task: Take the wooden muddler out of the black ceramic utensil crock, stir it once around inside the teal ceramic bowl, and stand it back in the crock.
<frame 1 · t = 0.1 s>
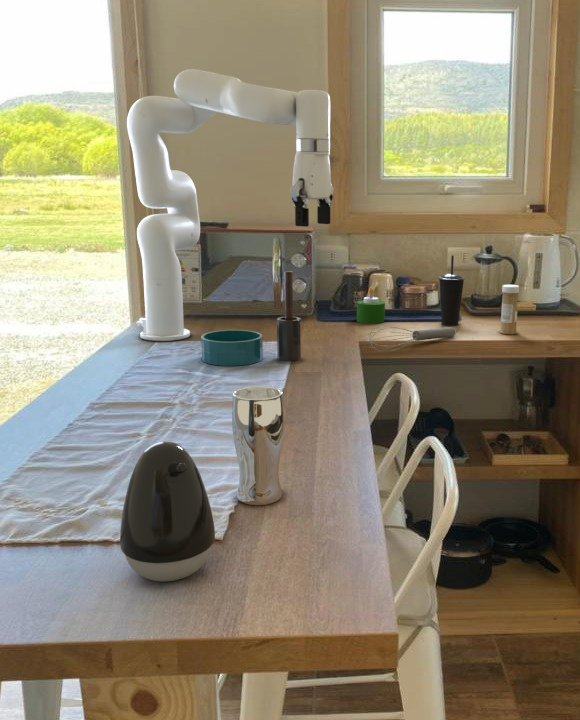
hand: (313, 225, 185), 31 cm above the breakfast bar, tool pointing down, fingers open, 9 cm apart
drinking cup: (449, 324, 236), on the breakfast bar
candle: (370, 321, 238), on the breakfast bar
wooden muddler: (289, 358, 188), resting on crock
sprinkles bottle: (508, 333, 225), on the breakfast bar
beer glass: (259, 498, 111), on the breakfast bar
bowl: (232, 361, 187), on the breakfast bar
crock: (289, 360, 188), on the breakfast bar
pump dispenser: (170, 572, 91), on the breakfast bar
kitchen whisk: (413, 345, 208), on the breakfast bar
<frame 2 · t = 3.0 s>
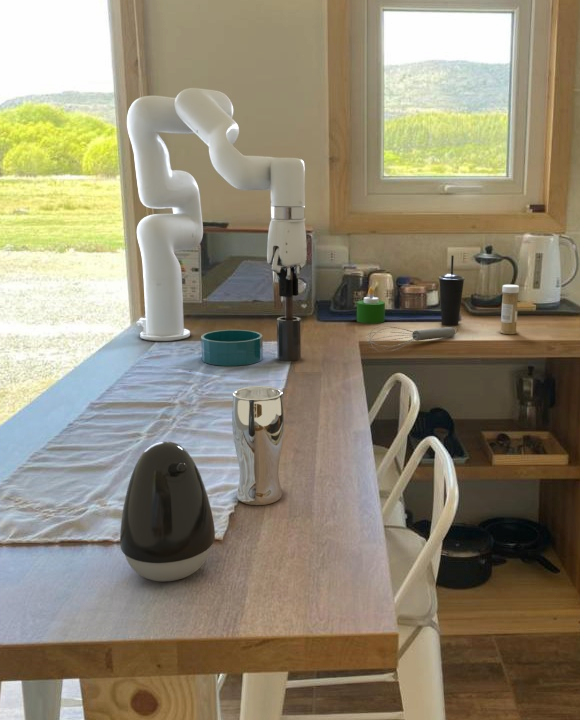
hand: (288, 295, 185), 15 cm above the breakfast bar, tool pointing down, fingers closed on wooden muddler, 1 cm apart
wooden muddler: (289, 358, 188), resting on crock, touching gripper
everything else where it was.
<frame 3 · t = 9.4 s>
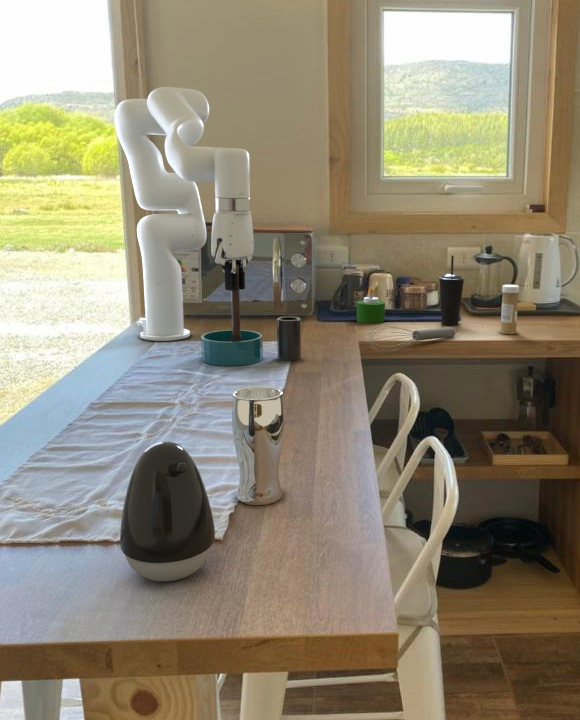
hand: (235, 288, 181), 17 cm above the breakfast bar, tool pointing down, fingers closed on wooden muddler, 1 cm apart
wooden muddler: (236, 353, 184), point 2 cm above the breakfast bar, touching gripper
everything else where it was.
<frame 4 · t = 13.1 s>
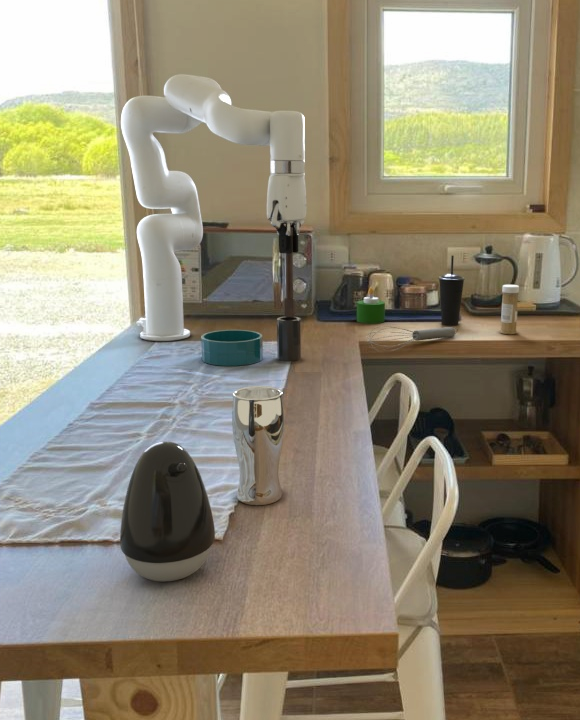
hand: (288, 252, 182), 25 cm above the breakfast bar, tool pointing down, fingers closed on wooden muddler
wooden muddler: (289, 317, 186), point 10 cm above the breakfast bar, touching gripper
everything else where it was.
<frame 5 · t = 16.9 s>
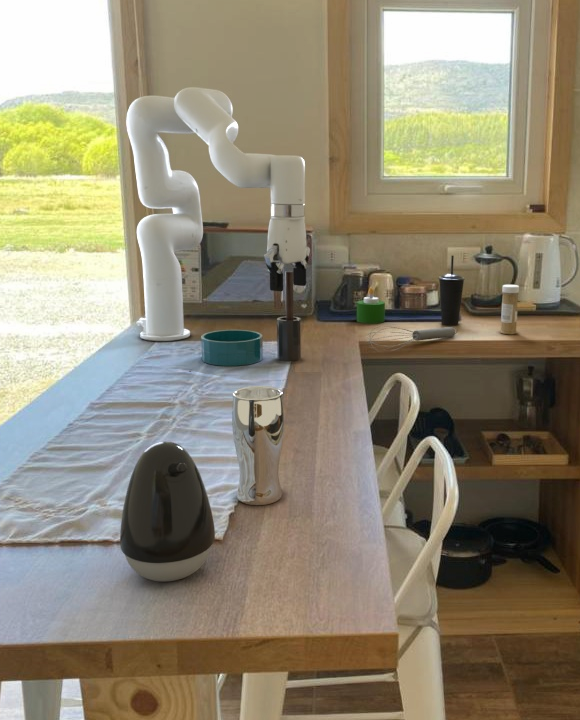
hand: (288, 288, 184), 17 cm above the breakfast bar, tool pointing down, fingers open, 9 cm apart
wooden muddler: (289, 358, 188), resting on crock
everything else where it was.
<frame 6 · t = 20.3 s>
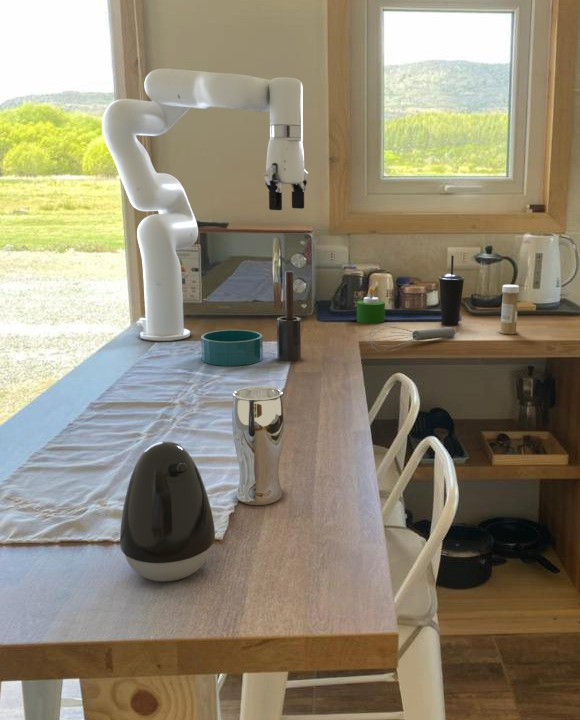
hand: (287, 209, 190), 34 cm above the breakfast bar, tool pointing down, fingers open, 9 cm apart
nothing on the breakfast bar moved.
at the end: wooden muddler 0.2 cm off-centre in the crock, point 0.5 cm above the crock's base; wooden muddler tilted 0°; bowl moved 0.0 cm from its start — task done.
